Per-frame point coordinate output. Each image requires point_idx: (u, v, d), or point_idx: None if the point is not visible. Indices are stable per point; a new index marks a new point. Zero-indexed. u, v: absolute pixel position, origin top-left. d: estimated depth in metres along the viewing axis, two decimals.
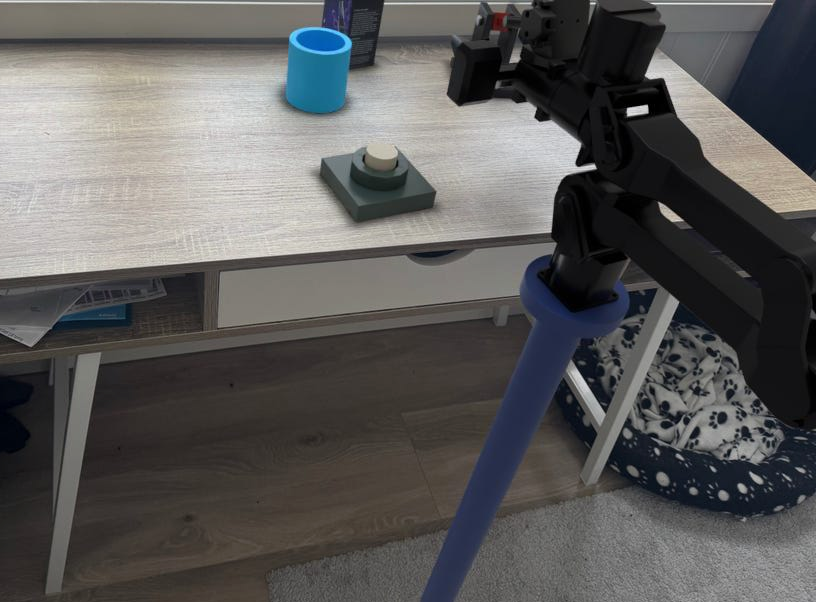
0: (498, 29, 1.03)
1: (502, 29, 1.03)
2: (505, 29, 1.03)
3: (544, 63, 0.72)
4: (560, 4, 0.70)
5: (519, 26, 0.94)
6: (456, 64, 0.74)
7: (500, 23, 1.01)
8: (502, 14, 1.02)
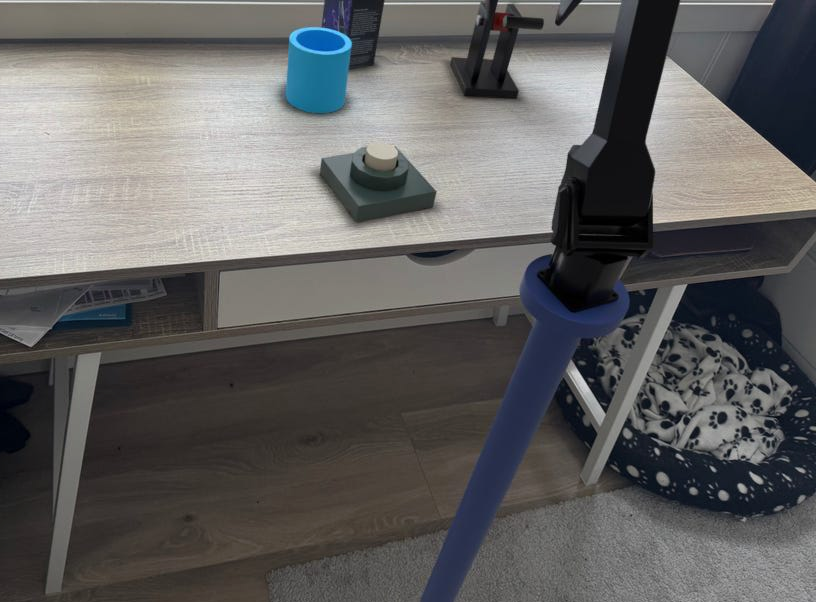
0: (498, 29, 1.03)
1: (502, 29, 1.03)
2: (505, 29, 1.03)
3: None
4: None
5: (519, 26, 0.94)
6: None
7: (500, 23, 1.01)
8: (502, 14, 1.02)
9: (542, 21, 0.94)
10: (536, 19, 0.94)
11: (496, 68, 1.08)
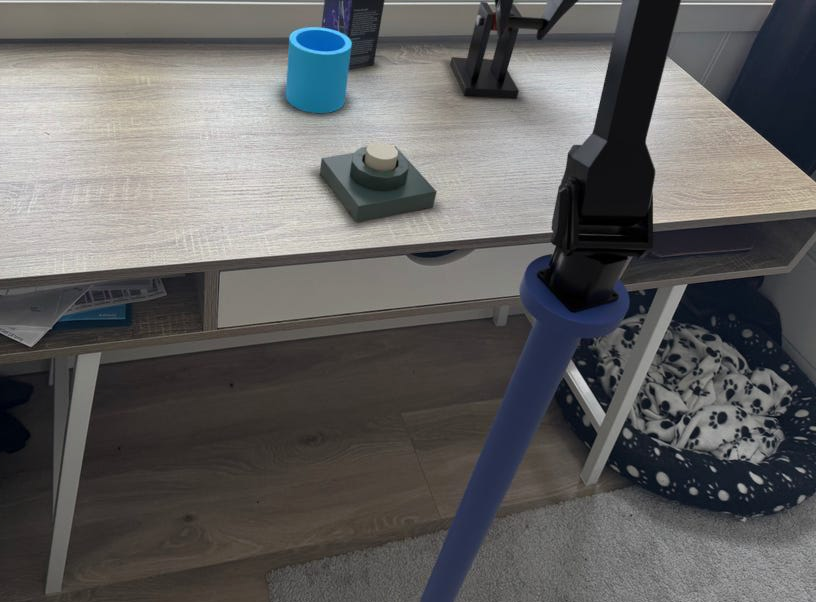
0: None
1: None
2: None
3: None
4: None
5: (519, 26, 0.94)
6: None
7: None
8: None
9: (542, 21, 0.94)
10: (536, 19, 0.94)
11: (496, 68, 1.08)
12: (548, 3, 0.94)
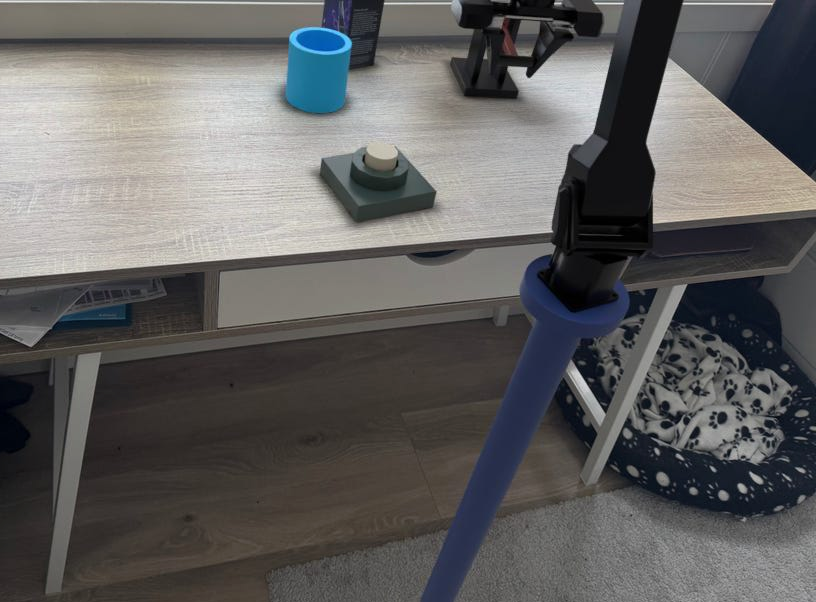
0: None
1: None
2: None
3: None
4: None
5: None
6: (454, 9, 0.93)
7: None
8: None
9: (532, 62, 0.97)
10: (527, 60, 0.97)
11: (496, 68, 1.08)
12: (537, 43, 0.97)
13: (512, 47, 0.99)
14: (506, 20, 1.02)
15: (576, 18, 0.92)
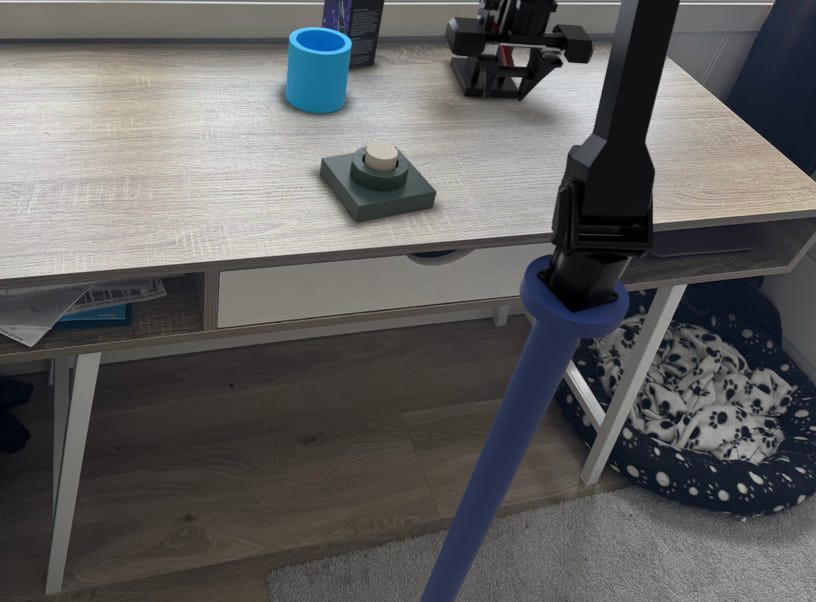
0: None
1: None
2: None
3: None
4: None
5: (505, 76, 0.99)
6: (447, 36, 0.96)
7: None
8: None
9: (528, 74, 0.99)
10: (523, 71, 0.98)
11: None
12: None
13: (509, 55, 1.00)
14: None
15: (566, 45, 0.94)
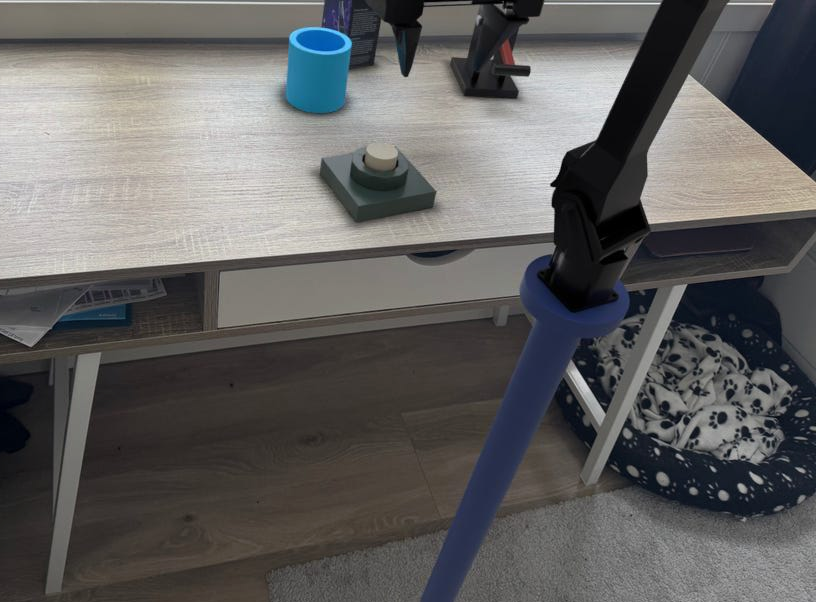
0: None
1: None
2: None
3: None
4: None
5: (506, 75, 0.99)
6: (371, 1, 0.76)
7: None
8: None
9: (529, 72, 0.98)
10: (524, 70, 0.98)
11: None
12: (483, 30, 0.83)
13: (510, 54, 1.00)
14: None
15: None
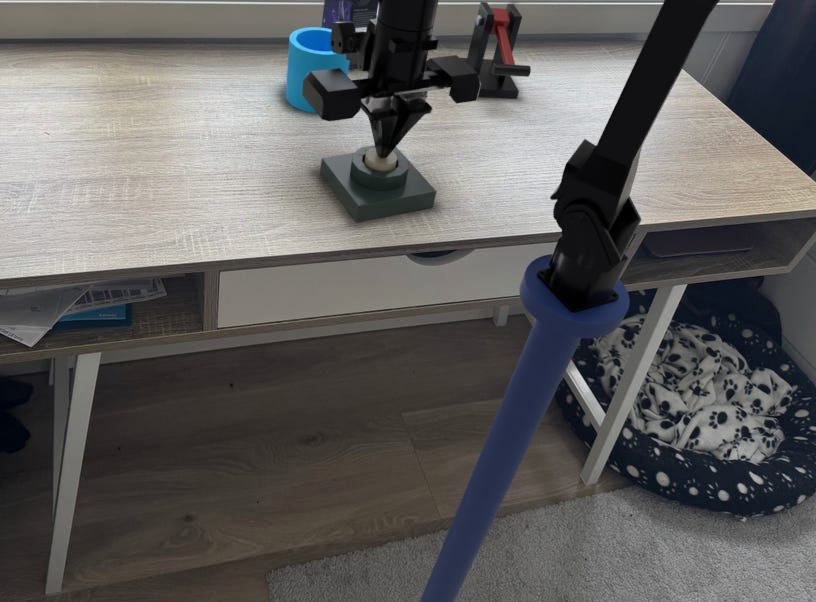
0: (495, 34, 1.04)
1: None
2: None
3: (366, 36, 0.75)
4: None
5: (506, 75, 0.99)
6: (308, 96, 0.75)
7: (497, 35, 1.02)
8: (502, 22, 1.02)
9: (529, 72, 0.98)
10: (524, 70, 0.98)
11: None
12: None
13: (510, 54, 1.00)
14: (506, 22, 1.02)
15: (451, 84, 0.77)
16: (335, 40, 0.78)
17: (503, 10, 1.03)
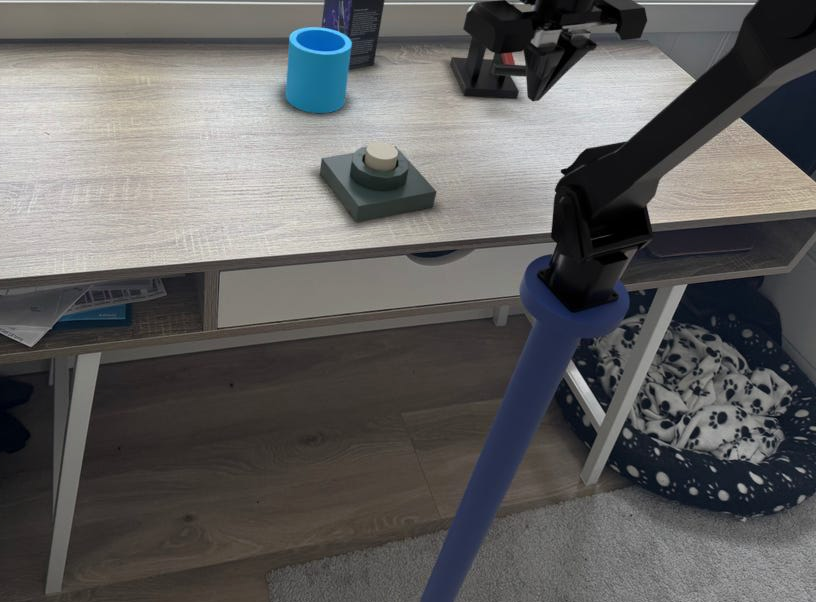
0: None
1: None
2: None
3: None
4: None
5: (506, 75, 0.99)
6: (472, 29, 0.70)
7: None
8: None
9: None
10: (524, 70, 0.98)
11: None
12: None
13: (510, 54, 1.00)
14: None
15: (619, 19, 0.73)
16: None
17: None
